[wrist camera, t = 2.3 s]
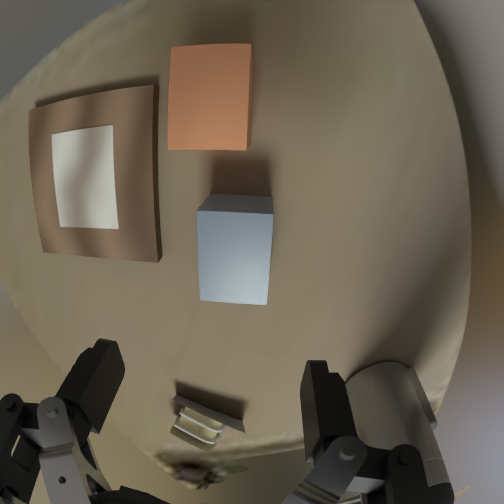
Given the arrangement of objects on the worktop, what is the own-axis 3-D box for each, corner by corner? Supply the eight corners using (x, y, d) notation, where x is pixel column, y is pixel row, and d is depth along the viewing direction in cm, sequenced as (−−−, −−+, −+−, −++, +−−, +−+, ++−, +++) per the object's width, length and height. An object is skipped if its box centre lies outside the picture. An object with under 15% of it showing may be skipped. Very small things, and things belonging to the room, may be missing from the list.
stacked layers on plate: (181, 385, 40) (167, 413, 38) (172, 399, 31) (156, 432, 30) (240, 413, 40) (225, 440, 38) (245, 432, 31) (227, 464, 30)
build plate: (159, 86, 19) (153, 84, 18) (162, 256, 26) (157, 263, 25) (36, 109, 20) (28, 110, 19) (49, 247, 26) (43, 252, 25)
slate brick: (272, 196, 23) (273, 214, 19) (266, 272, 26) (266, 304, 22) (210, 193, 23) (196, 210, 19) (211, 269, 26) (200, 300, 22)
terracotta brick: (254, 60, 19) (251, 43, 14) (250, 145, 22) (246, 150, 17) (190, 62, 19) (171, 47, 14) (187, 144, 22) (167, 150, 17)
